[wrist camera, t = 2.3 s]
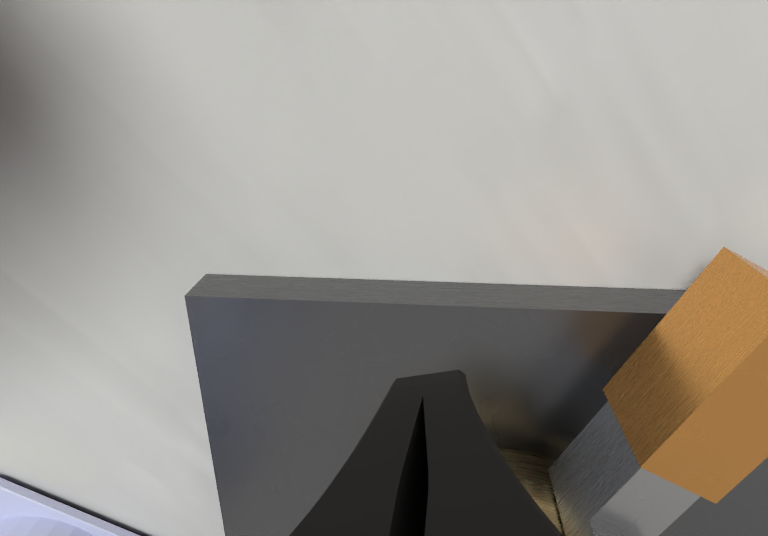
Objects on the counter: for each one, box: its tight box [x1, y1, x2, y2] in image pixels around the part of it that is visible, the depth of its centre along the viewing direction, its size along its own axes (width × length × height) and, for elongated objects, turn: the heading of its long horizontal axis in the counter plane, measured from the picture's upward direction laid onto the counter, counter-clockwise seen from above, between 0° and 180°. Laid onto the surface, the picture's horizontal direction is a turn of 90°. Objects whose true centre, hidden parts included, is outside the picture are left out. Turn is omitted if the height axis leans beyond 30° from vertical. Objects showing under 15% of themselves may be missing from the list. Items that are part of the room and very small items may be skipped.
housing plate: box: [185, 274, 768, 536], centre depth 18 cm, size 18×18×2 cm
